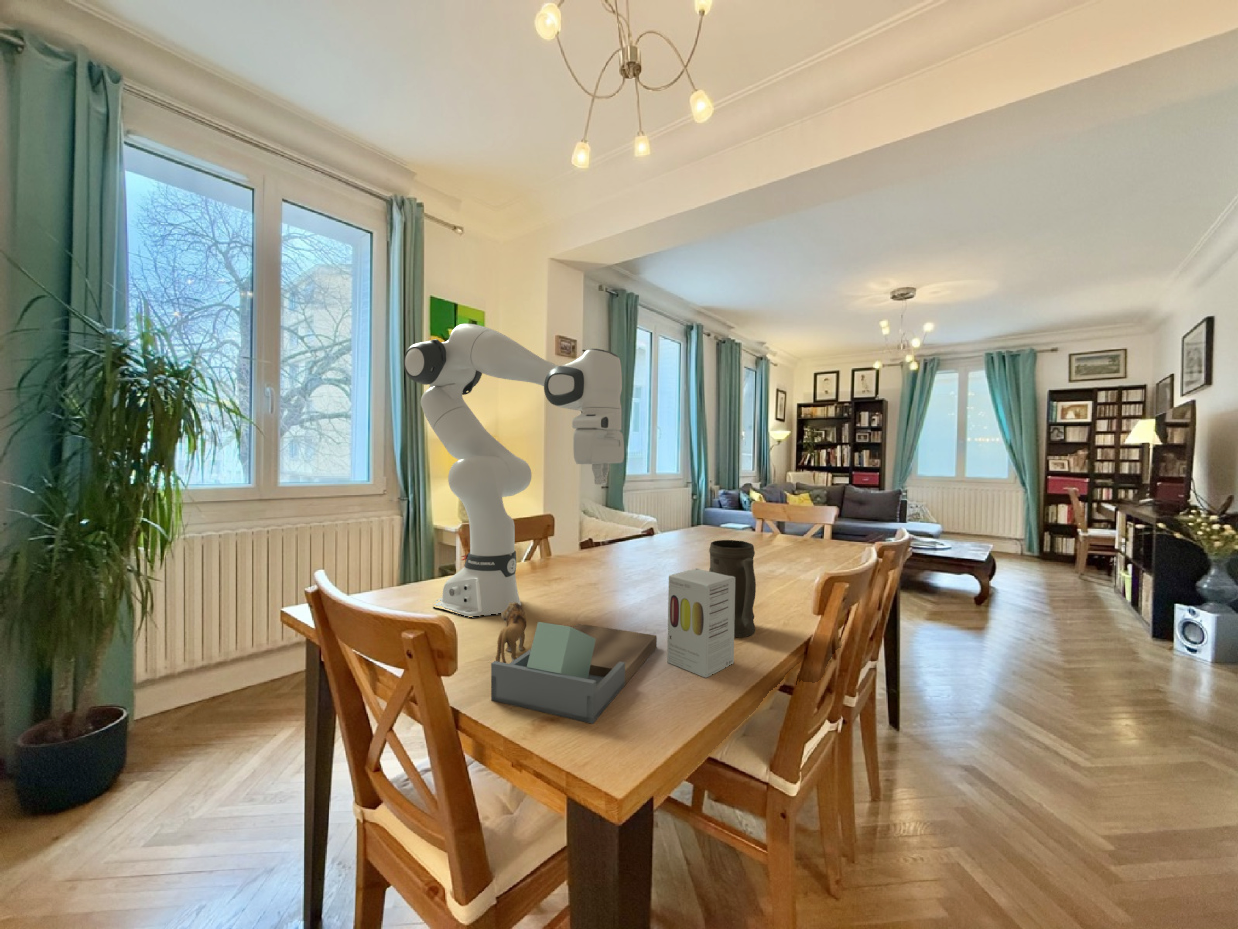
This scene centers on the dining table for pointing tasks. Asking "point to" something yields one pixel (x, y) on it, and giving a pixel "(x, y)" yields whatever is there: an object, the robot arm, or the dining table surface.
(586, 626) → the brown wooden board
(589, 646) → the sage block
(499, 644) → the lion figurine
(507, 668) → the box
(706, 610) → the supplement box
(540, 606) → the dining table surface
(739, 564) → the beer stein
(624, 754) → the dining table surface
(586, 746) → the dining table surface
